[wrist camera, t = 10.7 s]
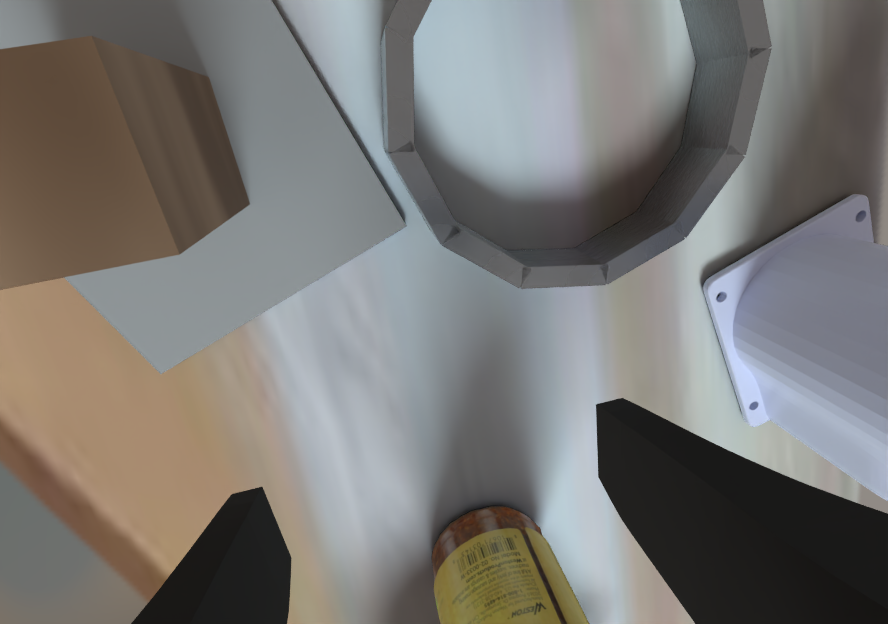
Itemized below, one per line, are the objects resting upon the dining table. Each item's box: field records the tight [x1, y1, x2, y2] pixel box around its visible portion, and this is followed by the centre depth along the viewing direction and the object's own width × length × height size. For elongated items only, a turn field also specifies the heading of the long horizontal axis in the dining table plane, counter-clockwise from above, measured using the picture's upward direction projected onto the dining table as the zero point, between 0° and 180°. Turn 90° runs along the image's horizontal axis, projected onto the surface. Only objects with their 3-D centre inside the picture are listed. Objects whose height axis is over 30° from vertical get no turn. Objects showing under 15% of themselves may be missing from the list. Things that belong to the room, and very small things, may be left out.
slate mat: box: [0, 0, 406, 374], centre depth 15 cm, size 12×11×1 cm
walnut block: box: [0, 36, 250, 290], centre depth 12 cm, size 4×4×7 cm
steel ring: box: [381, 0, 771, 289], centre depth 16 cm, size 13×13×2 cm
